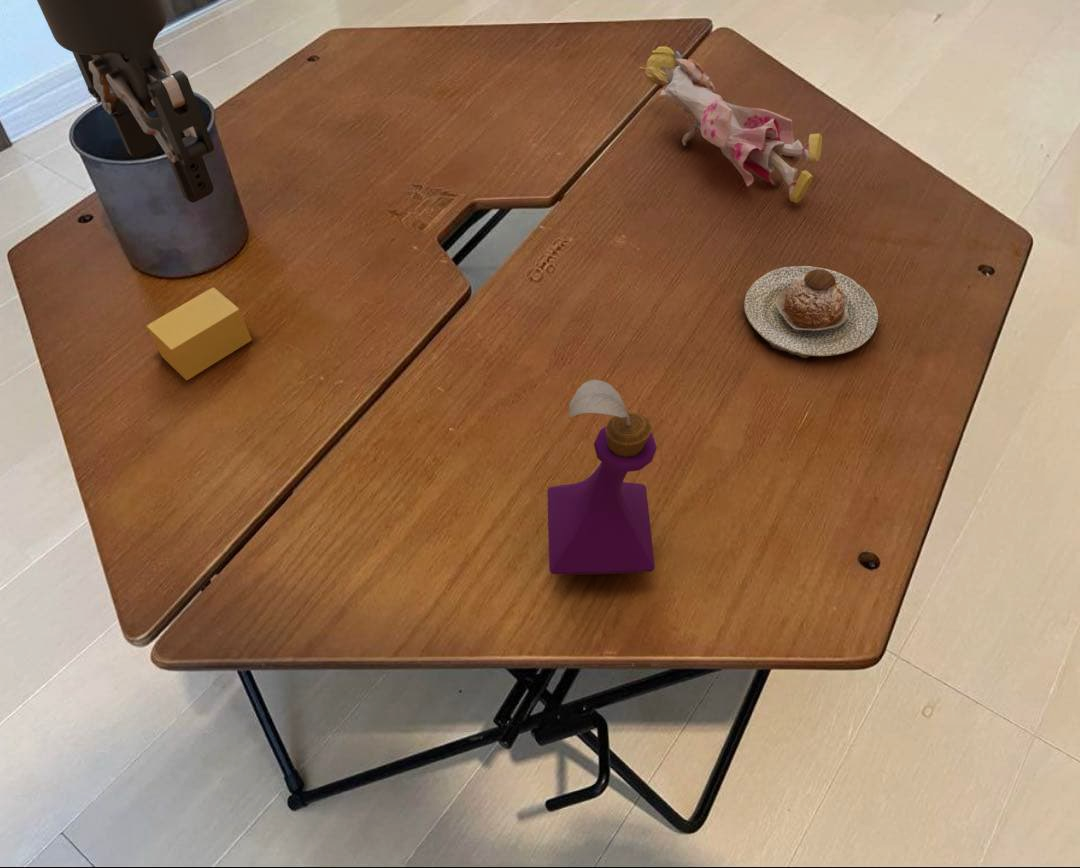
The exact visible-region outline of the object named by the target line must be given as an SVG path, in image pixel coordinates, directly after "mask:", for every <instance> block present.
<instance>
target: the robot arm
mask: <svg viewBox="0 0 1080 868" xmlns="http://www.w3.org/2000/svg"><path fill="white" fill-rule="evenodd" d="M36 2H37V3H38V6H39V7H40V10H41V12H42V15H43V16H44V19H45V21H46V24H47V26H48V28H49V29H50V32H51V35H52V37H53V38H54V39H55V42H56V43H57V44H58V45H59V46H60V47H62V48H63V49H65V50H67V51H69V52H72V54H73V57H74V59H75V61H76V64H77V66H78V68H79V71H80V73H81V76H82V78H83V80H84V83H85V85H86V87H87V91H88V93H89V94H90V95H91V96H92V97H93V98H94V99H98V98H100V102H101V106H102V108H103V110H104V111H106V112H107V114H109V115H111V117H112V120H113V121H114V124H115V126H116V129H117V131H118V133H119V136H120V138H121V140H122V142H123V145H124V148H125V149H126V153H128V154H129V155H130V156H131V157H133V158H134V159H140V158H141V157H143V156H146V155H149V154H150V153H152V152H154V151H155V150H156V149H157V146H158V145H157V142H158V144H159V145H160V147H161V149H162V150H163V151H164V154H165V156H166V157H167V159H168V161H169V163H170V167H171V169H172V172H173V174H174V176H175V178H176V181H177V182H176V183H177V184H178V186H179V189H180V191H181V194H182V196H183V197H184V199H186V200H187V201H188V202H189V203H194V204H195V203H197V202H199V201H201V200H202V199H204V198H206V197H208V196H211V194H213V192H214V185H213V182H212V178H211V176H210V174H209V171H208V169H207V166H206V163H205V160H204V156H206V155H208V154H210V153H213V152H214V151H215V146H214V143H213V141H212V138H211V135H210V132H209V130H208V127H207V125H206V122H205V120H204V117H203V114H202V112H201V109H200V106H199V104H198V101H197V99H196V95H195V93H194V90H193V89H192V85H191V83H190V80H189V77H188V76H187V75H186V74H185V72H184V71H183V70H181V69H180V70H177V71H175V72H173V73H171V69H170V68H169V66H168V64H167V63H166V61H165V60H164V58H163V56H162V55H161V54H160V53H159V52H157V51H156V49H155V48H154V43H155V40H156V38H157V37H158V35H159V34H160V32H162V31H163V30H164V28H165V26H166V24H167V19H168V14H167V9H166V7H165V4H164V0H36ZM154 111H157V112H156V113H157V116H155V117H152V116H150V115H148V114H150V113H152V112H154ZM182 133H183V135H184V136H185V137H183V138H182ZM156 140H157V141H156Z"/></svg>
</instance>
